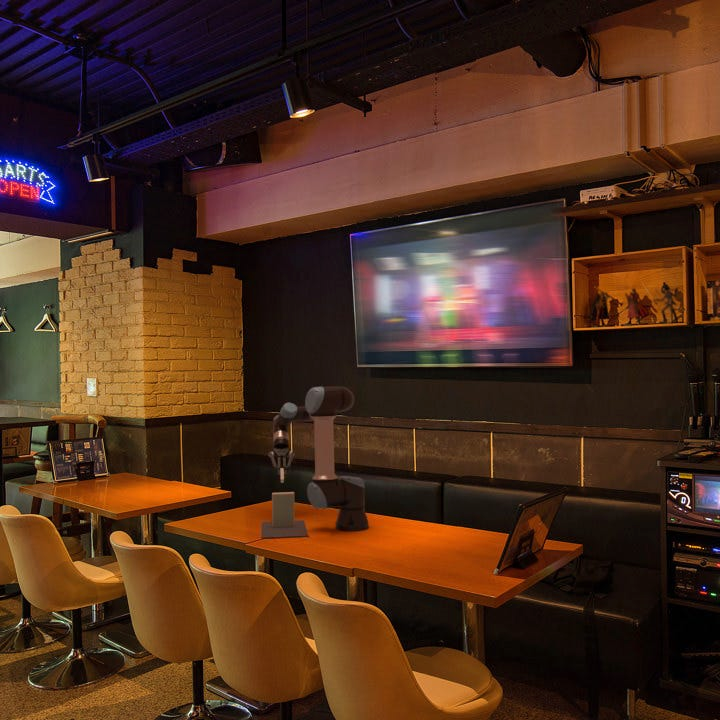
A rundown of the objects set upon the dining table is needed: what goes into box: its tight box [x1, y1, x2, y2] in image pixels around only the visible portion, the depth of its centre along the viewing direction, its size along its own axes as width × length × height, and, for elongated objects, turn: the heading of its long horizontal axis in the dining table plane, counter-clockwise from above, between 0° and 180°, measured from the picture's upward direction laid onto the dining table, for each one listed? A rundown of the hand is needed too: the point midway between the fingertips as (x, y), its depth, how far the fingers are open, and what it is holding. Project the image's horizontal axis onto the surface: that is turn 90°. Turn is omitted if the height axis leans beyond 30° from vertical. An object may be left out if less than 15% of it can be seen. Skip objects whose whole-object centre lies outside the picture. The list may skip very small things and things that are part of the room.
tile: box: [271, 491, 295, 527], centre depth 312 cm, size 3×10×15 cm, turn 98°
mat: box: [260, 519, 309, 540], centre depth 307 cm, size 30×20×1 cm, turn 8°
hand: (282, 481), depth 322 cm, fingers closed
